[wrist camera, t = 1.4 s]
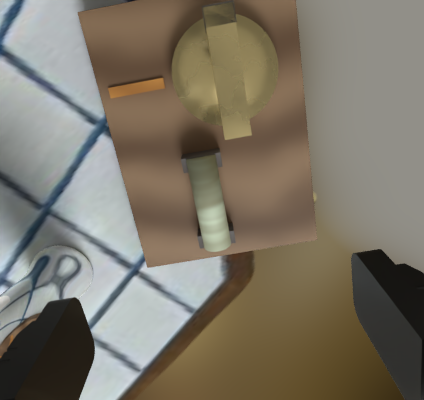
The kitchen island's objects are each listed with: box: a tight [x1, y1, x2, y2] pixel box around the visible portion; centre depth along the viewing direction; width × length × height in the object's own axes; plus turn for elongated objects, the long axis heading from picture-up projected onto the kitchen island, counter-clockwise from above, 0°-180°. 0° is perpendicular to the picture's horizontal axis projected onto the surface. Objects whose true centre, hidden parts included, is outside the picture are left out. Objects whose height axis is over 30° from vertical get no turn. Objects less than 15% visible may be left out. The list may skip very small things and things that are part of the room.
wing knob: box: [172, 0, 278, 140], centre depth 26 cm, size 8×8×6 cm
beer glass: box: [0, 245, 93, 358], centre depth 31 cm, size 7×7×15 cm
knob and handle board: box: [78, 0, 317, 268], centre depth 31 cm, size 22×16×5 cm
